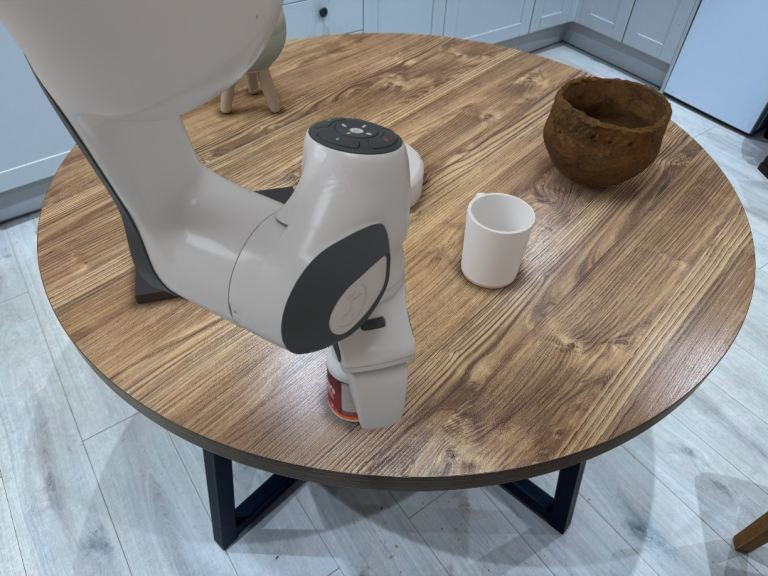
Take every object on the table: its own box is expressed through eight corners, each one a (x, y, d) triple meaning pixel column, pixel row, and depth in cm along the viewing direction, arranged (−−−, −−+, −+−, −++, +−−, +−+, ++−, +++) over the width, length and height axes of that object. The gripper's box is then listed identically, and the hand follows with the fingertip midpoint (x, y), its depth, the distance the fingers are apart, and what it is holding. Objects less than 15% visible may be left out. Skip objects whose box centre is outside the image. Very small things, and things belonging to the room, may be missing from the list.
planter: (302, 117, 112) (293, -5, 96) (219, 130, 107) (196, 4, 92) (280, 83, 123) (269, -32, 107) (204, 93, 118) (181, -26, 102)
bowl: (556, 213, 93) (582, 130, 82) (519, 152, 106) (538, 74, 95) (662, 206, 95) (701, 125, 85) (614, 147, 108) (642, 71, 98)
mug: (531, 283, 81) (548, 226, 73) (475, 297, 78) (487, 239, 71) (494, 236, 88) (506, 180, 81) (441, 248, 85) (449, 191, 78)
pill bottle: (326, 382, 67) (322, 317, 59) (377, 376, 68) (380, 311, 60) (331, 427, 63) (327, 363, 55) (385, 420, 64) (390, 357, 56)
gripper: (301, 222, 59) (308, 314, 68) (347, 379, 45) (348, 465, 55) (360, 214, 60) (359, 304, 70) (423, 363, 46) (411, 450, 56)
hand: (355, 376), depth 62 cm, fingers closed on pill bottle, 6 cm apart
